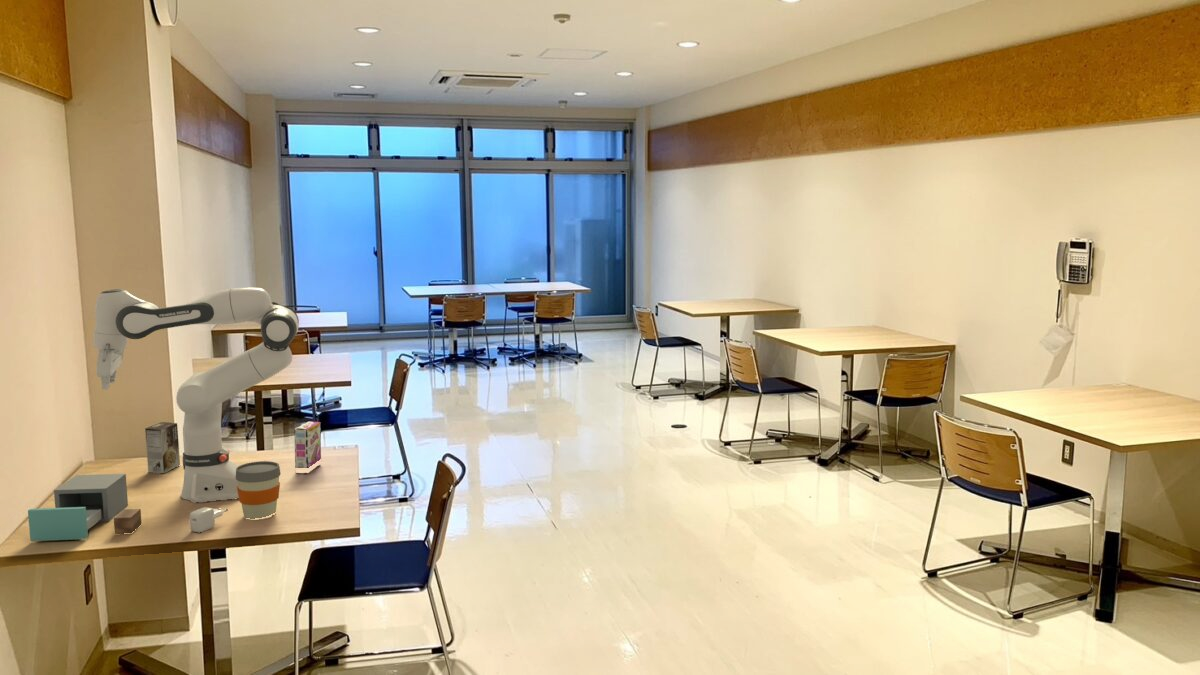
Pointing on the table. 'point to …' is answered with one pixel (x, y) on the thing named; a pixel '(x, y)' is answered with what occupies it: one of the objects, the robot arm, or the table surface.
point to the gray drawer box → (94, 494)
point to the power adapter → (204, 518)
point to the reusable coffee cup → (258, 488)
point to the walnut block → (127, 521)
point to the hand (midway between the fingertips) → (108, 385)
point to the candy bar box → (307, 444)
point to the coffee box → (162, 447)
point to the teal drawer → (61, 523)
